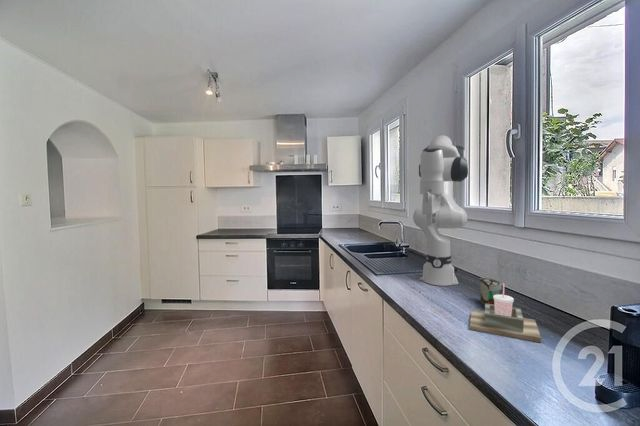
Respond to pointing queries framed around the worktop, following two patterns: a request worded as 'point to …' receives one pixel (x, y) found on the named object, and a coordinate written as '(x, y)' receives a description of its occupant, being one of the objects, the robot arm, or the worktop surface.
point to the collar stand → (505, 324)
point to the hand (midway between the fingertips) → (431, 224)
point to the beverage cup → (503, 304)
